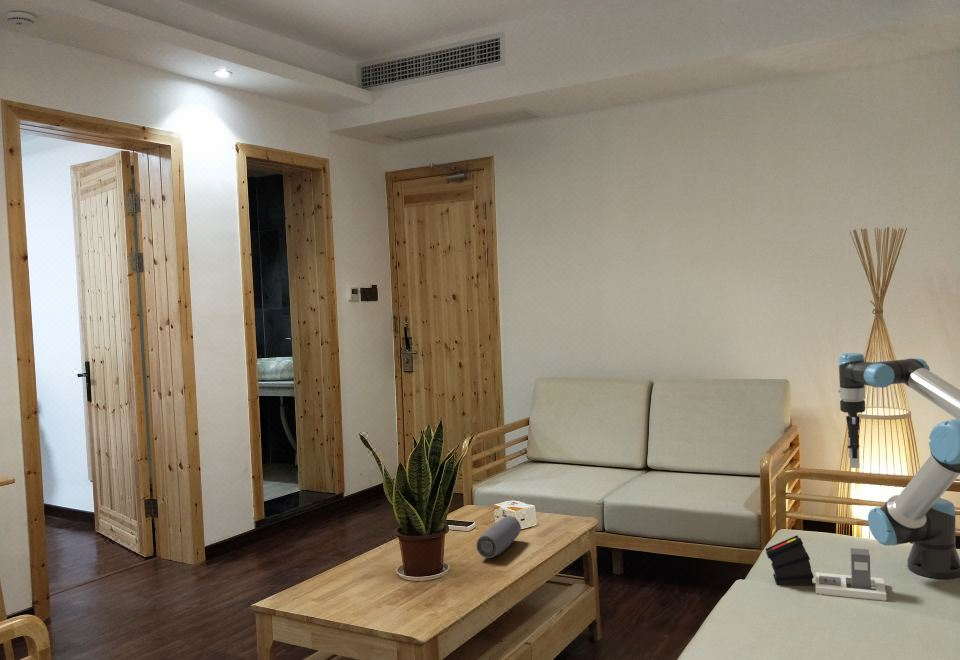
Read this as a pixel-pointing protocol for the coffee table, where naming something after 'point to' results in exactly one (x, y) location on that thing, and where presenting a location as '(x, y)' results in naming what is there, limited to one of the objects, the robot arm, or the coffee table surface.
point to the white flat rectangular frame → (837, 587)
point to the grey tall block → (860, 569)
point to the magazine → (790, 562)
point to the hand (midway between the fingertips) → (854, 462)
